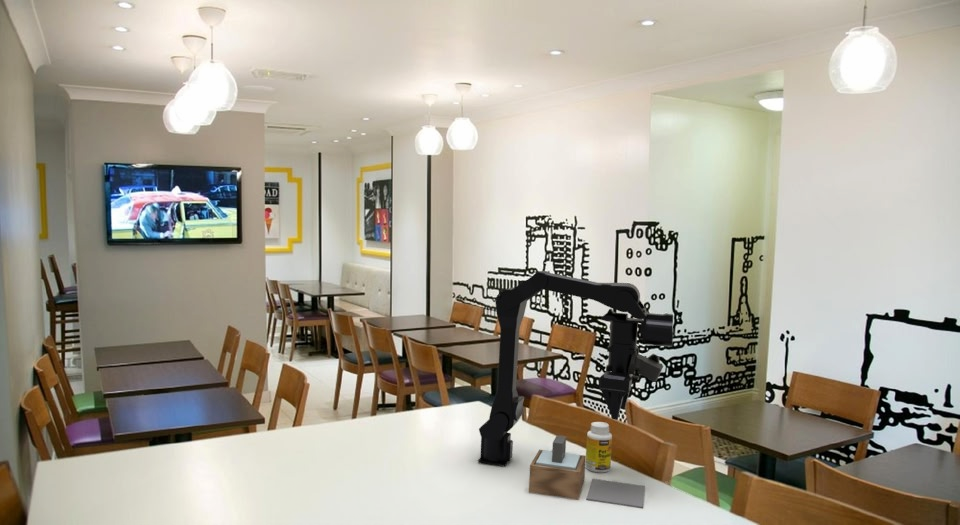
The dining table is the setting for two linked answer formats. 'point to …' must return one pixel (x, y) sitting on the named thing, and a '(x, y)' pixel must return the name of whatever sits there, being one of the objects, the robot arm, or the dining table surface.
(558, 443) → the lid
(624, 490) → the mat
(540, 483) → the walnut box
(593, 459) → the supplement bottle
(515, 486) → the dining table surface
